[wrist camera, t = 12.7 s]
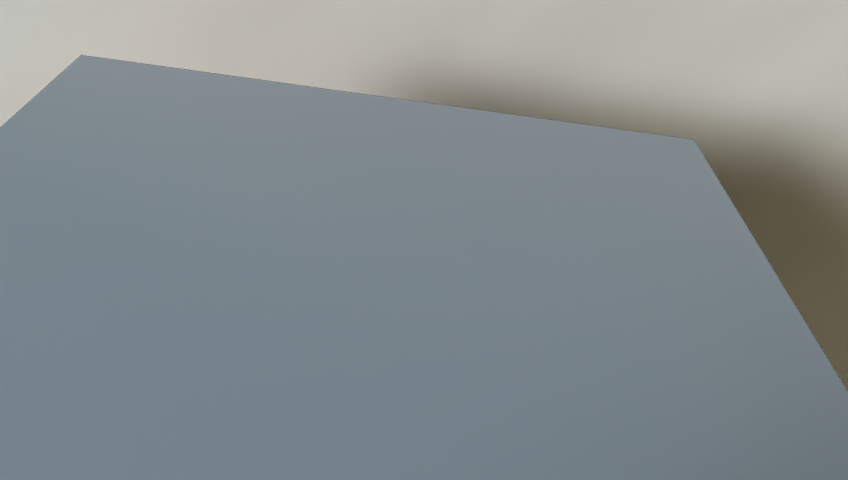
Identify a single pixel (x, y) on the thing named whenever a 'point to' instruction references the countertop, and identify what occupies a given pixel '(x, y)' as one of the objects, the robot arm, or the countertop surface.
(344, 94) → the grey-blue cube
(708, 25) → the countertop surface
